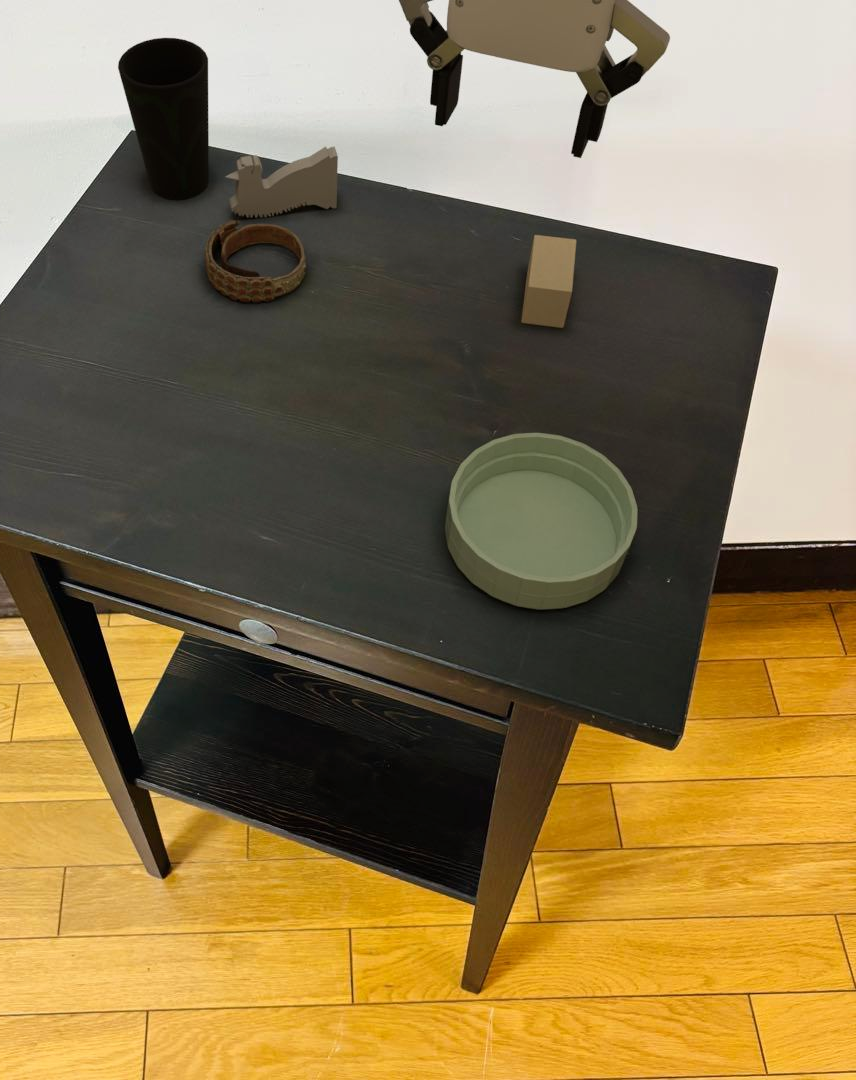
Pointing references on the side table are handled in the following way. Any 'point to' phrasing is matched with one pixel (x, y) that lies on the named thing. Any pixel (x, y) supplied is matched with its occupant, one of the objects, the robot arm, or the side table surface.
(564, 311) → the tan rectangular block
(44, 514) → the side table surface
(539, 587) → the bowl
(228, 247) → the bracelet
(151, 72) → the cup
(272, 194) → the serrated bird cutout
